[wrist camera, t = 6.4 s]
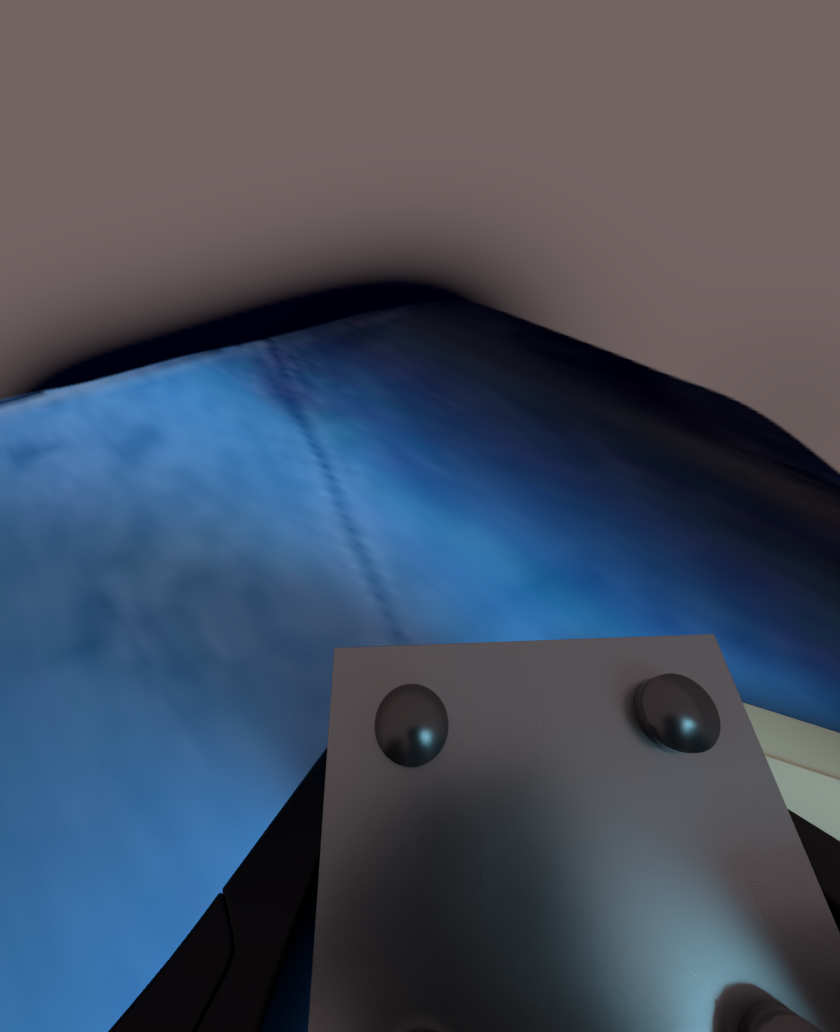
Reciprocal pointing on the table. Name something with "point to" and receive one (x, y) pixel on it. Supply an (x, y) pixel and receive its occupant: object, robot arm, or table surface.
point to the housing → (560, 847)
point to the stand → (802, 765)
